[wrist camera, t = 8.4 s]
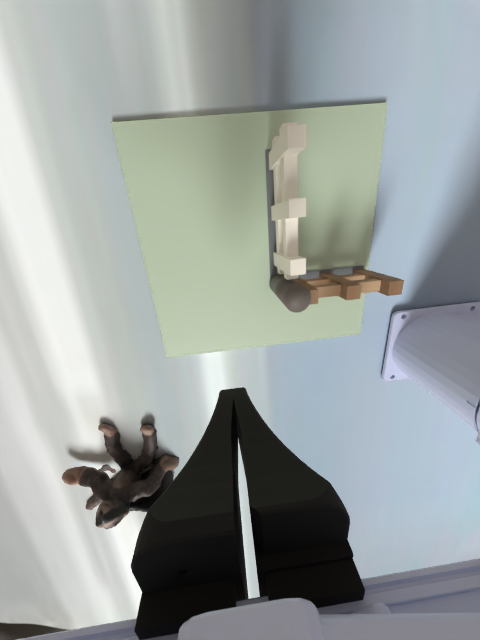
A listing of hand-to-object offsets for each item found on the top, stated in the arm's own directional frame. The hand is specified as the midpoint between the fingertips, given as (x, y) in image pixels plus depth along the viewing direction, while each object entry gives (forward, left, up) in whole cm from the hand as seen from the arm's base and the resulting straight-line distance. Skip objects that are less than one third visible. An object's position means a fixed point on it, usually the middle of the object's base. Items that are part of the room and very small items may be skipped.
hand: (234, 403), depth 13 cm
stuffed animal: (+14, +16, -11) cm, 24 cm away
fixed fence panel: (-9, -4, -10) cm, 14 cm away
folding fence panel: (-5, -10, -9) cm, 14 cm away
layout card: (-4, -7, -10) cm, 13 cm away
